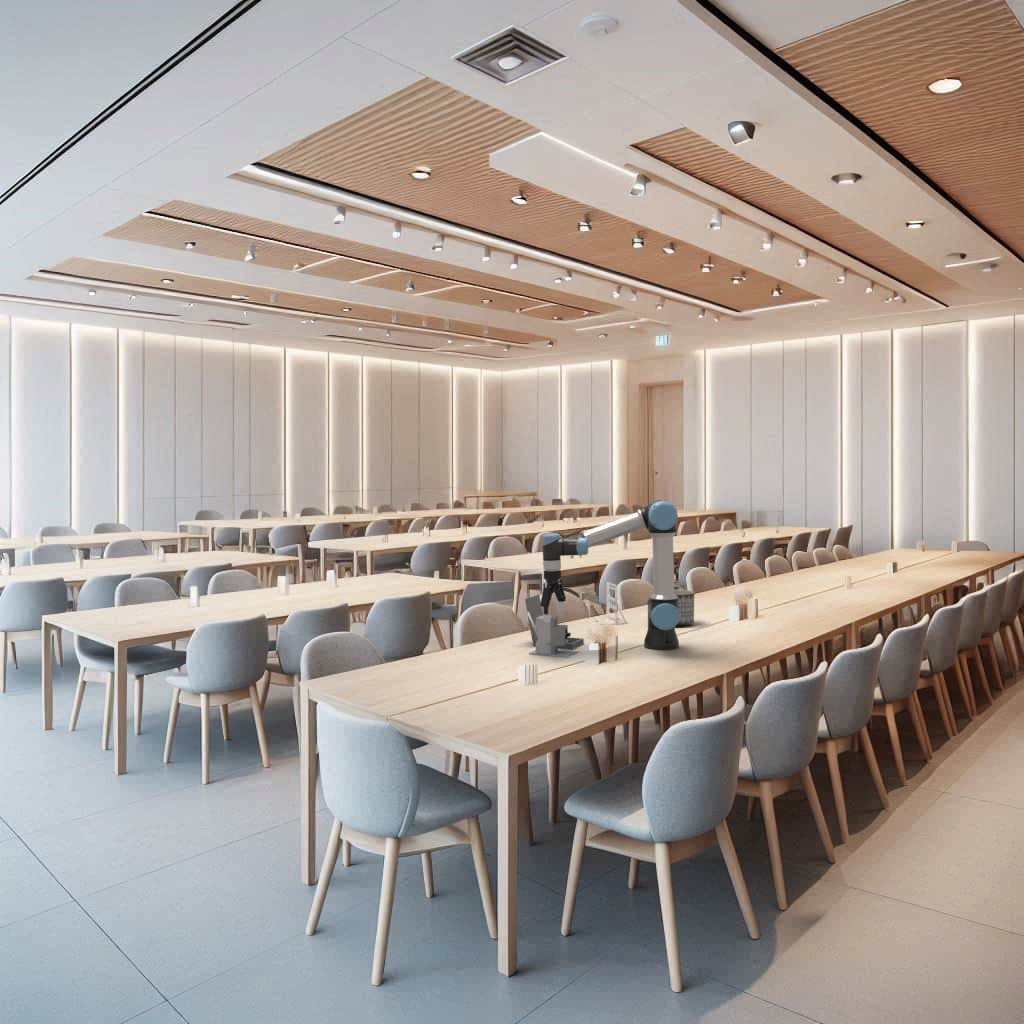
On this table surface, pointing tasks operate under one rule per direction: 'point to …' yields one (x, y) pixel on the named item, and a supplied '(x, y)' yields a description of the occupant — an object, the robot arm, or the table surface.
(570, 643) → the case
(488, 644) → the table surface
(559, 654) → the mat
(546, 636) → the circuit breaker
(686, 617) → the planter
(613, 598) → the film strip holder
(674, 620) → the robot arm
